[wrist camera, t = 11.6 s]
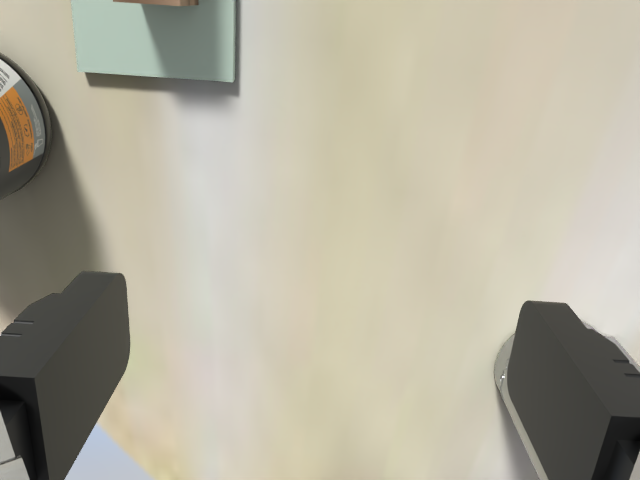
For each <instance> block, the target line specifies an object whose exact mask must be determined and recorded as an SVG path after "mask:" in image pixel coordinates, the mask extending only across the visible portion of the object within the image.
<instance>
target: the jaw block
mask: <svg viewBox="0 0 640 480" xmlns="http://www.w3.org/2000/svg"><path fill="white" fill-rule="evenodd" d="M113 2H124V3H139V4H155V5H171V6H193V5H199V0H113Z"/></svg>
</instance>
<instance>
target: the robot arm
mask: <svg viewBox="0 0 640 480" xmlns="http://www.w3.org/2000/svg"><path fill="white" fill-rule="evenodd" d="M129 353H130V332H129V317H128V302H127V288H126V281H125V278H124V276H123V274H121V273H108V272H93V271H82V272H81V273H80V274H79V275H78V276H77V277H76V278H75V279H74V280H73V281H72V282H71V283H70V284H69V285H68V286H67V287H66V288H65V290H64V291H63V292H62V293H61V294H57V293H52V294H50V295H48V296H46V297H44V298H42V299H41V300H39V301H37V302H35V303H33V304H31V305H29V306H28V307H27V308H26V309H25V310H24V311H23V312H22V313H21V314H20V315H19V316H18V317H17V318H16V319H15V320H14V323H11V324H10V325H9V326H8V327H7V328H6V329H5V330H4V331H3V332H2V334H1V336H0V480H64V479H65V477H66V475H67V474H68V472H69V470H70V469H71V467H72V465H73V463H74V461H75V460H76V458H77V456H78V454H79V452H80V451H81V449H82V447H83V445H84V444H85V442H86V440H87V438H88V436H89V435H90V433H91V431H92V429H93V428H94V426H95V424H96V422H97V421H98V419H99V417H100V415H101V413H102V412H103V410H104V408H105V406H106V404H107V403H108V401H109V399H110V397H111V396H112V394H113V392H114V390H115V388H116V387H117V385H118V383H119V381H120V380H121V378H122V376H123V374H124V372H125V370H126V367H127V364H128V359H129ZM494 375H495V382H496V384H497V386H498V389H499V391H500V393H501V397H502V399H503V401H504V402H505V404H506V407H507V409H508V411H509V413H510V415H511V418H512V420H513V422H514V425H515V427H516V429H517V431H518V433H519V436H520V438H521V440H522V442H523V444H524V446H525V449H526V451H527V453H528V455H529V457H530V460H531V462H532V464H533V466H534V468H535V470H536V473H537V475H538V477H539V479H540V480H640V366H639V365H638V364H637V363H636V362H635V361H634V360H633V358H632V357H631V356H630V355H629V354H628V353H627V352H626V350H625V349H624V348H623V347H622V346H621V345H620V344H619V342H618V341H617V340H616V339H615V338H614V337H606V336H602V335H601V334H599V333H598V332H597V331H596V330H595V329H594V328H593V327H591V326H590V325H588V324H586V323H584V322H582V321H581V320H580V319H579V318H578V317H577V315H576V314H575V313H574V312H573V310H572V309H571V308H570V307H569V306H568V305H567V304H566V303H558V302H542V301H526V302H525V303H524V304H523V306H522V308H521V311H520V314H519V319H518V323H517V328H516V332H515V334H513V335H512V336H511V337H510V338H509V339H508V340H507V342H506V343H505V344H504V345H503V347H502V348H501V350H500V352H499V353H498V356H497V359H496V362H495V369H494Z"/></svg>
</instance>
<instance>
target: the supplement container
mask: <svg viewBox="0 0 640 480" xmlns="http://www.w3.org/2000/svg"><path fill="white" fill-rule="evenodd" d="M51 140H52V129H51V121H50V116H49V112H48V109H47V106H46V103H45V101H44V99H43V97H42V95H41V93H40V91H39V90H38V88H37V86H36V85H35V83H34V82H33V81H32V79H31V78H30V77H29V76H28V75H27V74H26V73H25V71H24V70H23V69H21V68H20V67H19V66H18V65H17V64H16V63H15V62H13V61H12V60H11V59H10V58H8V57H7V56H5V55H4V54H2V53H0V200H1V199H3V198H4V197H6V196H7V195H9V194H11V193H13V192H16V191H18V190H19V189H21V188H23V187H24V186H26V185H27V184H28V183H29V182H31V181H32V180H33V179H34V178H35V177H36V176H37V175H38V173H39V172H40V171H41V169H42V168H43V166H44V164H45V162H46V160H47V157H48V155H49V151H50V147H51Z"/></svg>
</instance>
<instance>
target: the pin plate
mask: <svg viewBox="0 0 640 480" xmlns="http://www.w3.org/2000/svg"><path fill="white" fill-rule="evenodd" d="M71 6H72V17H73V27H74V38H75V49H76V59H77V70H78V72H91V73H106V74H120V75H135V76H149V77H164V78H179V79H193V80H208V81H222V82H234V81H235V28H236V0H199V5H193V6H171V5H155V4H139V3H124V2H113V0H71Z"/></svg>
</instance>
